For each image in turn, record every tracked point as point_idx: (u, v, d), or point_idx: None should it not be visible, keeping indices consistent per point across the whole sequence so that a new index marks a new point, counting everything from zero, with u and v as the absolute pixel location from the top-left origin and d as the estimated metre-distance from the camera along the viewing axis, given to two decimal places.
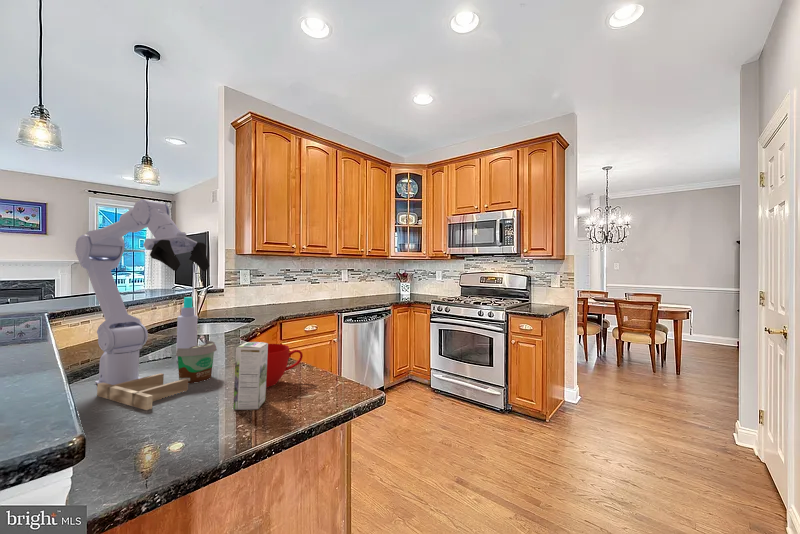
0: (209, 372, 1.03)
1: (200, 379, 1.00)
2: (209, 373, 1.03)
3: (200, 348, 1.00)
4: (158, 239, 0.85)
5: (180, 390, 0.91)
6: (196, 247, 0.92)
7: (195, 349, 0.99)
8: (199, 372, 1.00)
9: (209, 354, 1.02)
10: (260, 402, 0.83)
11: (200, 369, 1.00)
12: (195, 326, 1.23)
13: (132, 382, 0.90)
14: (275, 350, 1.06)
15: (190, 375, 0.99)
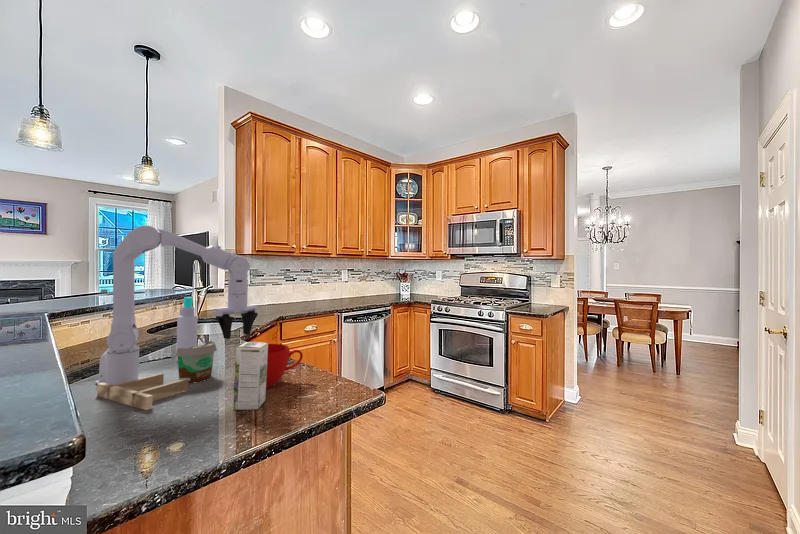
0: (209, 372, 1.03)
1: (200, 379, 1.00)
2: (209, 373, 1.03)
3: (200, 348, 1.00)
4: (227, 311, 1.08)
5: (180, 390, 0.91)
6: (250, 315, 1.16)
7: (195, 349, 0.99)
8: (199, 372, 1.00)
9: (209, 354, 1.02)
10: (260, 402, 0.83)
11: (200, 369, 1.00)
12: (195, 326, 1.23)
13: (132, 382, 0.90)
14: (275, 350, 1.06)
15: (190, 375, 0.99)
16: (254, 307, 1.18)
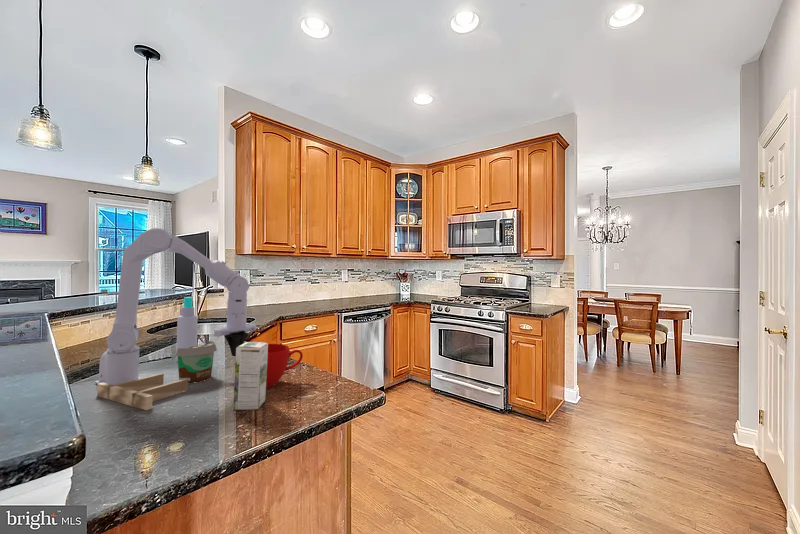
0: (209, 372, 1.03)
1: (200, 379, 1.00)
2: (209, 373, 1.03)
3: (200, 348, 1.00)
4: (226, 331, 1.08)
5: (180, 390, 0.91)
6: None
7: (195, 349, 0.99)
8: (199, 372, 1.00)
9: (209, 354, 1.02)
10: (260, 402, 0.83)
11: (200, 369, 1.00)
12: (195, 326, 1.23)
13: (132, 382, 0.90)
14: (275, 350, 1.06)
15: (190, 375, 0.99)
16: (253, 326, 1.18)
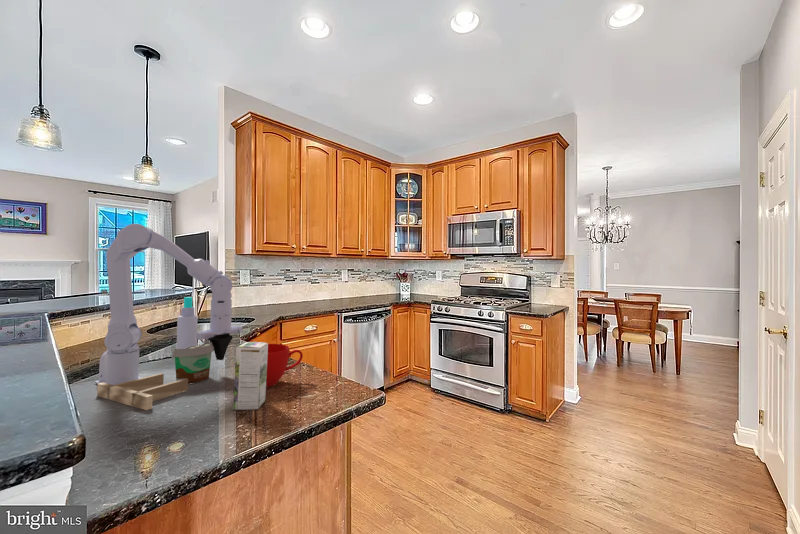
0: (207, 373, 1.02)
1: (198, 380, 0.99)
2: (207, 374, 1.02)
3: (197, 348, 0.99)
4: (209, 334, 1.03)
5: (180, 390, 0.91)
6: None
7: (192, 349, 0.98)
8: (196, 373, 0.99)
9: (206, 354, 1.01)
10: (260, 402, 0.83)
11: (198, 369, 0.99)
12: (195, 326, 1.23)
13: (132, 382, 0.90)
14: (275, 350, 1.06)
15: (188, 376, 0.98)
16: (239, 328, 1.13)
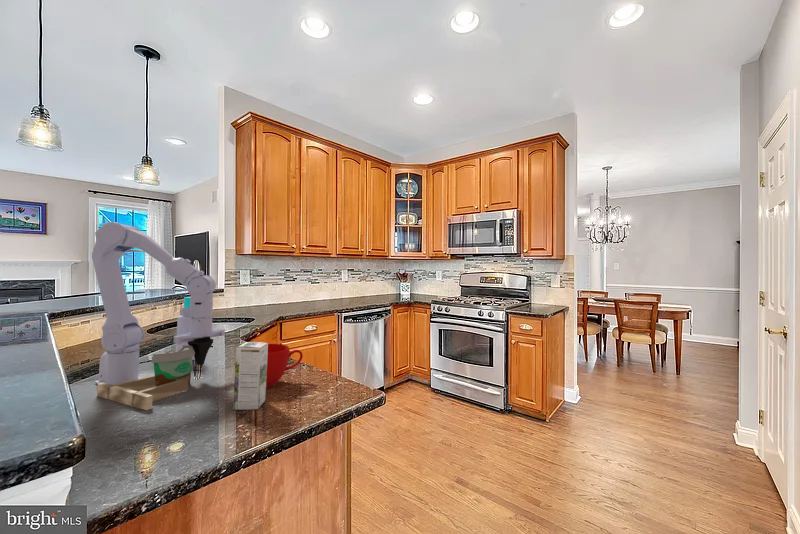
0: (188, 378, 0.96)
1: None
2: (188, 379, 0.96)
3: (178, 352, 0.93)
4: (187, 337, 0.97)
5: (180, 390, 0.91)
6: None
7: (173, 354, 0.92)
8: (178, 378, 0.93)
9: (188, 358, 0.96)
10: (260, 402, 0.83)
11: (179, 375, 0.94)
12: None
13: (132, 382, 0.90)
14: (275, 350, 1.06)
15: (169, 382, 0.92)
16: (221, 331, 1.07)
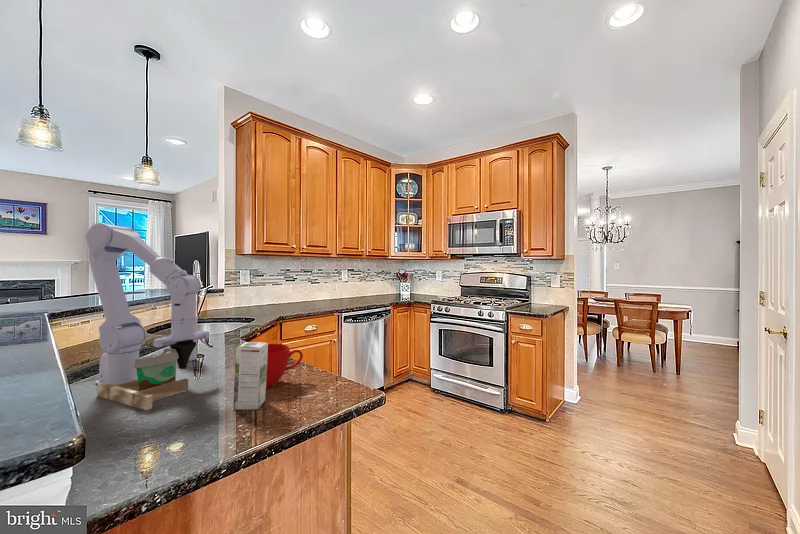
0: None
1: None
2: None
3: (163, 356, 0.89)
4: (168, 340, 0.92)
5: (180, 390, 0.91)
6: None
7: (157, 357, 0.87)
8: (163, 383, 0.89)
9: (173, 362, 0.91)
10: (260, 402, 0.83)
11: (165, 379, 0.89)
12: (195, 326, 1.23)
13: (132, 382, 0.90)
14: (275, 350, 1.06)
15: None
16: (205, 333, 1.02)
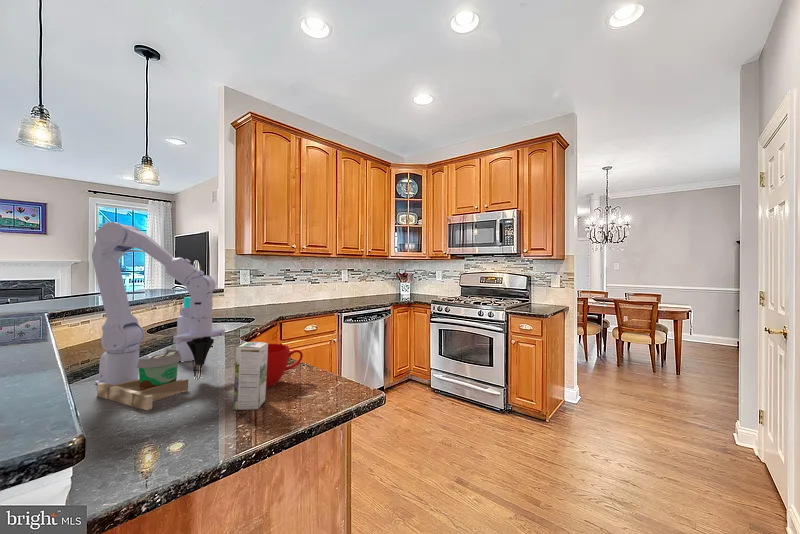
0: None
1: None
2: None
3: (166, 357, 0.89)
4: (187, 337, 0.97)
5: (180, 390, 0.91)
6: None
7: (161, 359, 0.88)
8: None
9: (175, 363, 0.91)
10: (260, 402, 0.83)
11: (166, 380, 0.89)
12: None
13: (132, 382, 0.90)
14: (275, 350, 1.06)
15: None
16: (221, 331, 1.07)
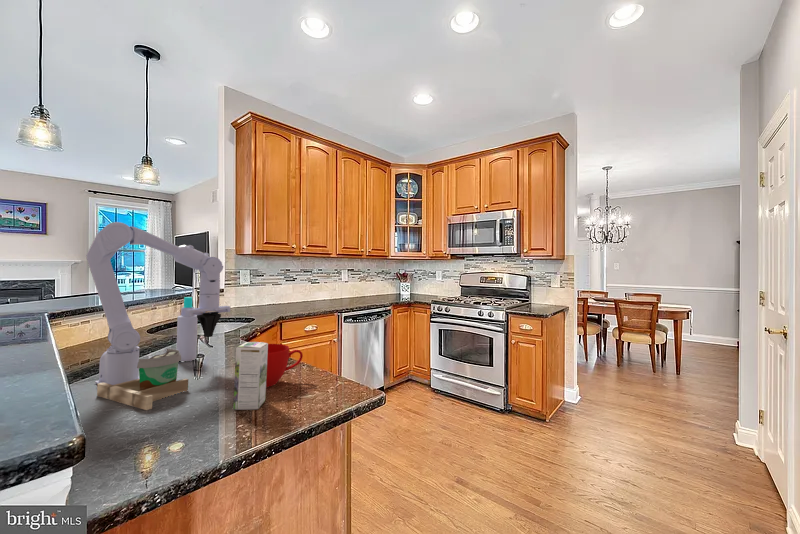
0: None
1: None
2: None
3: (166, 357, 0.89)
4: (197, 311, 1.08)
5: (180, 390, 0.91)
6: None
7: (161, 359, 0.87)
8: None
9: (175, 363, 0.91)
10: (260, 402, 0.83)
11: (166, 380, 0.89)
12: (195, 326, 1.23)
13: (132, 382, 0.90)
14: (275, 350, 1.06)
15: None
16: (227, 307, 1.18)
